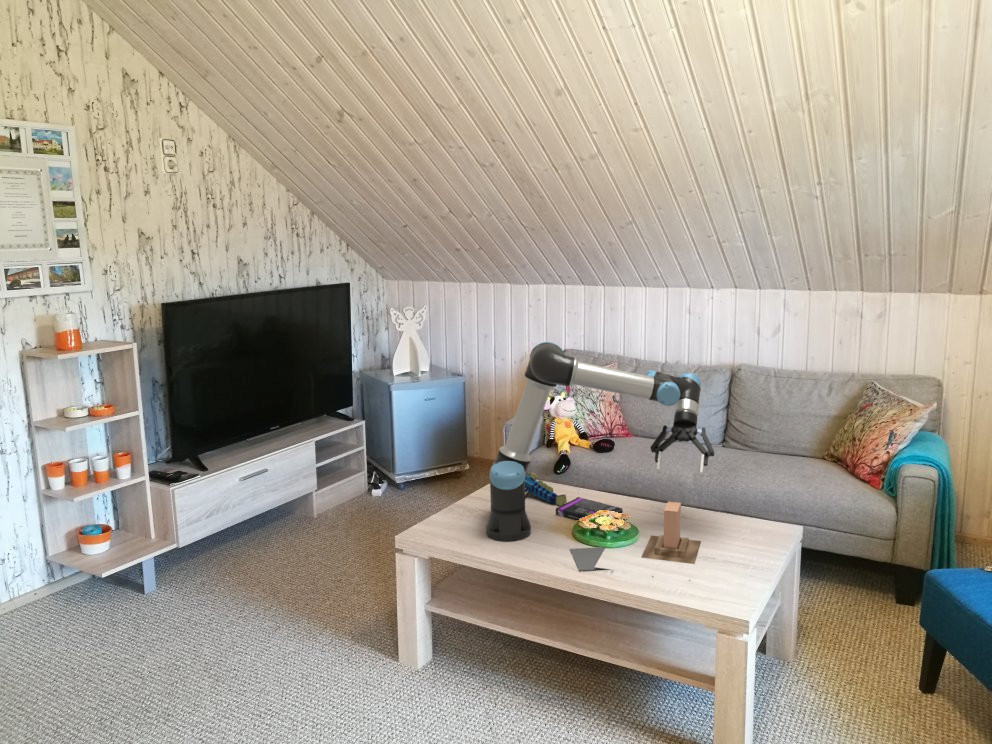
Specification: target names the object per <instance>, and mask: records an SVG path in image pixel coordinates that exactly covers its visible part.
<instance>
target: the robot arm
mask: <svg viewBox="0 0 992 744" xmlns="http://www.w3.org/2000/svg"><path fill="white" fill-rule="evenodd" d="M523 377H524V379H525V381H526V383H525V386H524V389H523V392H522V396H521V398H520V401H519V404H518V407H517V410H516V413H515V415H514V419H513V421H512V424H511V427H510V431H509V433H508V436H507V438H506V442H505V445H502V446H501V447H499V449H498V452H497V455H496V458H495V460H494V461H493V463H492V465H491V467H490V469H489V470H490V471H489V474H488V476H489V485H490V486H489V489H490V496H489V497H490V513H489V516H488V519H487V523H486V527H485V532H486V533H485V534H486V535H488V536H489V538H490V539H493V540H495V541H500V542H502V541H503V542H515V541H519V540H524V539H526V538H528V537H530V535H531V533H532V525H531V523H530V519H529V517H528V514H527V511H526V497H525V475H526V476H527V473H528V470H529V469H528V468H529V467H530V464H531V460H532V457H531V455H530V450H531V448H532V445H533V442H534V439H535V436H536V433H537V430H538V427H539V424H540V421H541V418H542V415H543V413H544V409H545V407H546V403H547V401H548V399H549V396H550V392H551V390H552V389H554V388H557V385H559V386H565V387H571V386H572V385H575V386H579V387H584V388H590V389H596V390H599V391H600V390H601V391H604V392H605V391H606V392H610V393H614V394H620V395H623V396H624V395H625V396H630V397H633V398H634V397H635V398H639V399H643V400H648V401H651V402H656V403H657V402H658V403H660V404H661V405H663V406H665V407H671V406H675V408H674V417H673V423H672V424H673V425H672V427H668V426H667V425H662V426H663V427H662V430H661V432H660V433H659V435H657V437H656V439H655V440H654V441H653V443H652V444H651V446H650V451H651V453H654V461H655V463H656V472H657V474H660V473H661V468H662V460H663V452H665V450H666V449H668V448H669V447H670V446H671V445H672V444H674V443H676V442H677V441H678V442H686V443H687V442H688V443H689V442H691V443H692V444H693V445H694V446H695V447H696V448H697V450H698V451H699V452H700V453H701V457H700V458H701V459H700V468H699V469H700V470H699V473H700V477H703V476H704V471H705V470H704V469H705V467H708V465H709V463H708V462H709V457H715V450H714V448H713V446H712V443H711V442H710V439H709V438H708V435H707V432H706V431H707V430H706V428H705V427H702V428H697V425H698V416H699V404H700V395H701V391H702V390H701V389H702V387H701V385H702V382H701V381H702V380H701V378H700V375H697V374H695V373H694V372H683V373H682V374H680V375H679V376H674V375H671V374H668V373H664V372H660V371H658V370H651V369H649V370H647V371H646V372H645V374H644V375H643V374H639V373H636V372H635V373H634V372H630V371H626V370H621V369H616V368H610V367H607V366H601V365H597V364H590V363H587V362H582V361H578V359H577V358H576V357H573V356H569V355H566V354H565V352H564V351H563V349H562V348H561V347H560V346H559V345H558V344H556V343H554V342H551V341H544V342H539V343H538V344H536V346H534V347H533V348H532V350H531V352H530V354H529V361H528V364H527V367H526V370H525V372H524V375H523ZM670 432H671V434H670V436H669V437H667V439H665V438H666V436H667V435H668V434H669V433H670ZM697 435H699V436H700V437H702V440H703V443H704V445H705V446H706V448H705V447H704V445H703V444H702V443H701V442H700V441H699V440H698V438H697V437H696V436H697ZM488 536H487V537H488Z"/></svg>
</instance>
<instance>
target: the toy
mask: <svg viewBox="0 0 992 744" xmlns="http://www.w3.org/2000/svg"><path fill="white" fill-rule="evenodd" d="M537 478H538V476H537V474H536V473H534V472H533V471H530V472H529V473H526V475H525V498H526V497H527V495H528V494H531V495H533V496H535V497H537V498H539V499H541V500H542V501H546V502H548V503H549V504H552V505H557V506H558V507H560V506H562V505H564V504H566V503H568V501H567V494H565V493H564V494H559V495H557V493H555V492H554V488H553V487H552V486H551V485H548V484H547V483H545V482H544V480H542V479H538V480H537Z"/></svg>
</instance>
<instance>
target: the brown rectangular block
mask: <svg viewBox="0 0 992 744" xmlns="http://www.w3.org/2000/svg"><path fill="white" fill-rule="evenodd" d="M681 508H682V502H675V501H667V503H666V505H665V508H664V510H663V511H664V512H663V535H664V548H669V549H677V550H678V549H679V546H680V537H681V524H682V523H681V522H682V521H681V520H682V516H681V514H682V512H681V511H682V509H681Z"/></svg>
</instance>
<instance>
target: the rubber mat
mask: <svg viewBox="0 0 992 744" xmlns="http://www.w3.org/2000/svg"><path fill="white" fill-rule="evenodd" d="M602 547H603V546H598V547H597V546H596V547H595V546H594V547H583V548H582V547H581V548H580V547H579V548H569V551H570V554H571V555H573V556H572V557H573V561H574V562H576V563H575V565H576V567H577V569H579V570H578V571H580V572H581V571H583V572H595V571H596V570H597V571H598V570H599V571H612V570H611V568H603V567H596V565H597V564H598V563H599V562H598V561H599V560H600V558H601V557H602V555H603V552H604V551H605V550H606V548H602ZM597 571H596V572H597Z"/></svg>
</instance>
